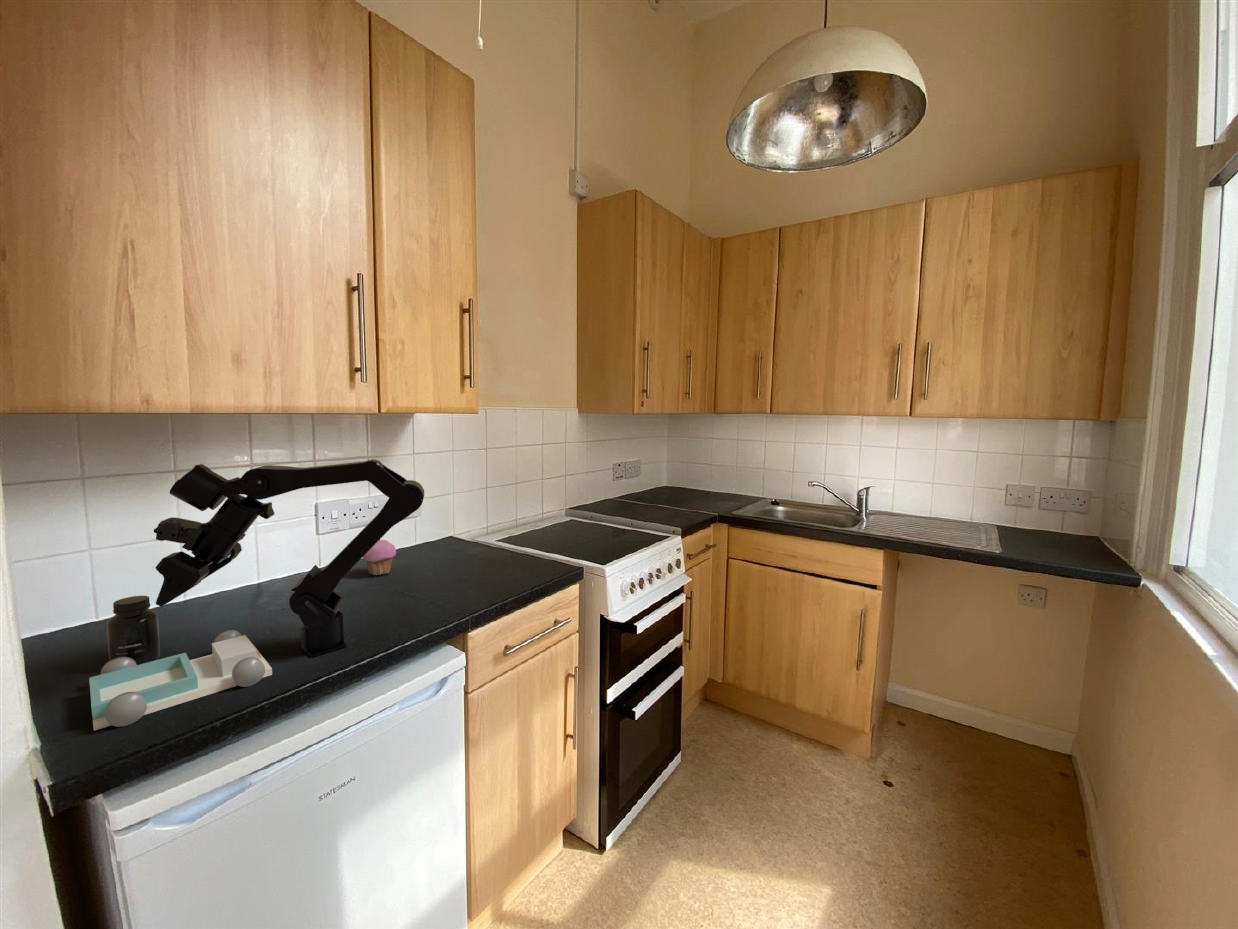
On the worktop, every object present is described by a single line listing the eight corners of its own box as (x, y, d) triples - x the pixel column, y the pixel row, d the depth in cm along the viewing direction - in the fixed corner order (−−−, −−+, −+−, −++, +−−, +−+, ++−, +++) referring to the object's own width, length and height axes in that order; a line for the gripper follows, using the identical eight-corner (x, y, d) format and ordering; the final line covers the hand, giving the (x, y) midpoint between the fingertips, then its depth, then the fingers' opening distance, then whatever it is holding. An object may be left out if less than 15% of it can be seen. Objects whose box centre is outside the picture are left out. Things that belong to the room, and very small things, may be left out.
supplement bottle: (123, 675, 89) (117, 609, 88) (101, 667, 92) (95, 603, 90) (169, 657, 96) (164, 596, 94) (148, 651, 98) (142, 591, 97)
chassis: (250, 646, 100) (249, 625, 100) (274, 678, 89) (273, 654, 88) (90, 690, 84) (88, 665, 84) (94, 736, 73) (91, 707, 72)
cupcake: (389, 568, 151) (388, 535, 150) (401, 574, 145) (400, 540, 144) (357, 574, 145) (356, 540, 144) (369, 581, 139) (367, 546, 138)
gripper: (208, 492, 100) (155, 558, 98) (155, 510, 82) (89, 591, 80) (263, 523, 103) (213, 587, 101) (224, 546, 85) (162, 624, 84)
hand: (172, 595), depth 92 cm, fingers open, 9 cm apart
